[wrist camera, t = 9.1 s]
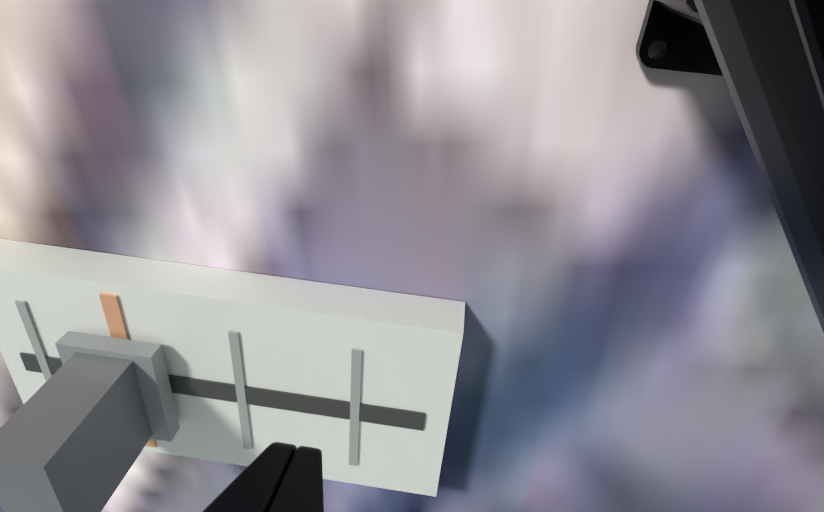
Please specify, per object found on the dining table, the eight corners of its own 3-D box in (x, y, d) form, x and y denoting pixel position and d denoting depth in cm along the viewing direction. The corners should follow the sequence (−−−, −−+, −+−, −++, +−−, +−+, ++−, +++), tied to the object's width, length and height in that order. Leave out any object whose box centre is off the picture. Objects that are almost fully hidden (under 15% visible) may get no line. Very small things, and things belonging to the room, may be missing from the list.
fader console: (465, 302, 21) (463, 335, 20) (439, 461, 27) (435, 499, 25) (1, 239, 23) (-41, 265, 21) (63, 402, 28) (34, 434, 26)
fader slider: (161, 344, 22) (64, 465, 17) (179, 427, 24) (101, 553, 19) (68, 330, 22) (-54, 445, 17) (96, 414, 24) (-3, 535, 19)
